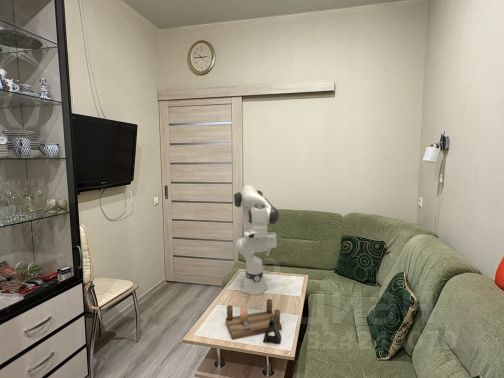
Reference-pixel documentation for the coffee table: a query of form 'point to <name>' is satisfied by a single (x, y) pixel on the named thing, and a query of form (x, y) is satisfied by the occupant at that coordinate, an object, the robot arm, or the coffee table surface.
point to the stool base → (252, 322)
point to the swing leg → (244, 317)
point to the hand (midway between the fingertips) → (259, 256)
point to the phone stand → (277, 337)
